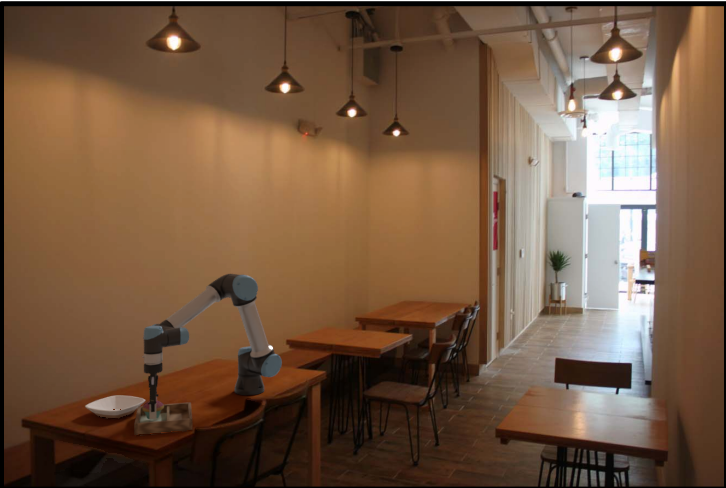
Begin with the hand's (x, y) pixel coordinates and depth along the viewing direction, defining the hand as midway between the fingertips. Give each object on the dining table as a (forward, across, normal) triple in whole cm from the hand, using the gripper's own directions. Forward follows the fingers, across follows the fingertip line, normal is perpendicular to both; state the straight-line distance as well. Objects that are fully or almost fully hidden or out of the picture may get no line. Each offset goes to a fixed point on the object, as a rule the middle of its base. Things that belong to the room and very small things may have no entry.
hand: (153, 415), depth 248 cm
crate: (+4, 0, +4) cm, 6 cm away
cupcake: (+1, 0, 0) cm, 1 cm away
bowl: (+4, -20, -17) cm, 26 cm away
